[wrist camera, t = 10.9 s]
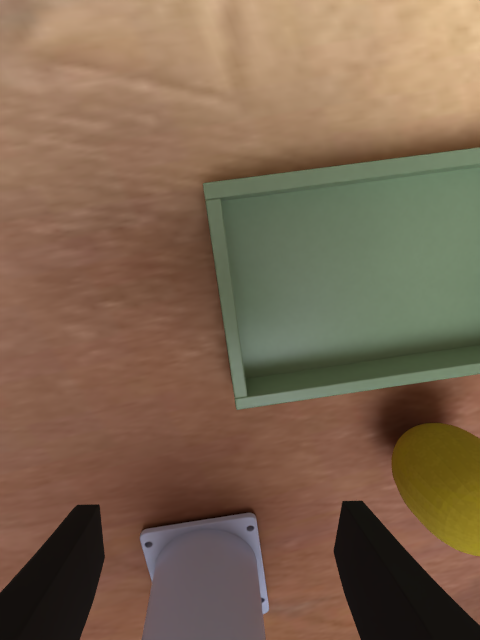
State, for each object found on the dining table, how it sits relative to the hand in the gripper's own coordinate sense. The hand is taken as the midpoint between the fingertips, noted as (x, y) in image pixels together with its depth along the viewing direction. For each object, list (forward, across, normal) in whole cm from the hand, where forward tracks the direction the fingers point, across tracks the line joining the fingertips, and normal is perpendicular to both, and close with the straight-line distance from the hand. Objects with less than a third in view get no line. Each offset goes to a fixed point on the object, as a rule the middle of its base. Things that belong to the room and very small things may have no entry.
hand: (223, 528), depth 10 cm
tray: (+10, -8, -6) cm, 15 cm away
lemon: (+10, -13, +4) cm, 17 cm away
